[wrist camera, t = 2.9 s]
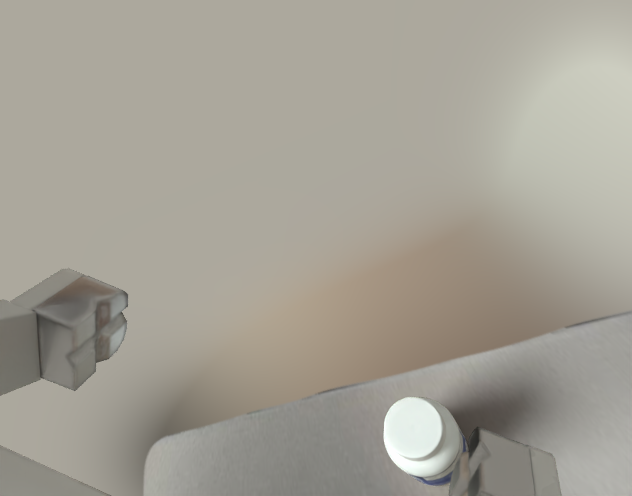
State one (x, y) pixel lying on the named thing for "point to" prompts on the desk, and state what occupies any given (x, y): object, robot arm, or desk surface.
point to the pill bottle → (423, 439)
